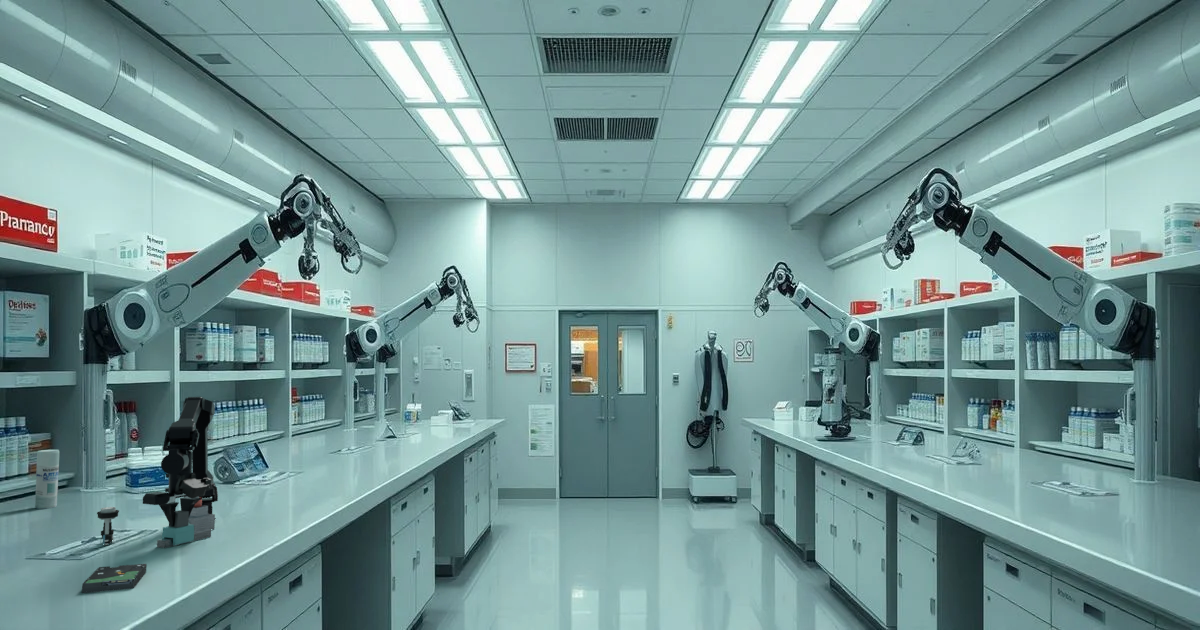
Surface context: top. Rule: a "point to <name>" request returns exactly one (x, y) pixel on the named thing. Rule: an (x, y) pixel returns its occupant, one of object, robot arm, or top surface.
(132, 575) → the disk drive
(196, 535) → the rail
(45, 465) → the spray paint can
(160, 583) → the top surface
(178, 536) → the carriage
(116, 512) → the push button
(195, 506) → the plunger
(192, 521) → the grey piece
